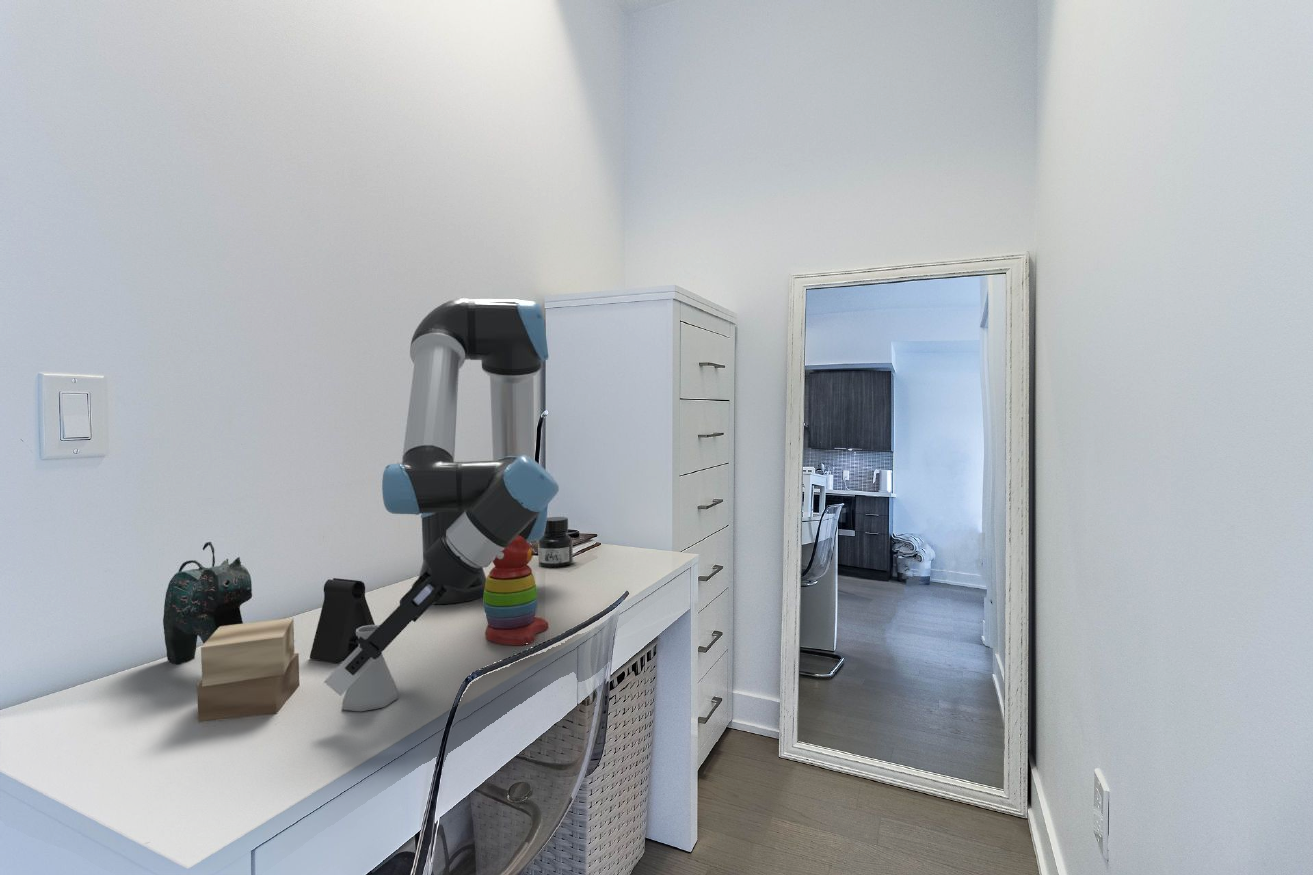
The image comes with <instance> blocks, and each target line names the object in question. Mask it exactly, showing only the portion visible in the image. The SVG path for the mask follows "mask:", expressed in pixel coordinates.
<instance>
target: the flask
mask: <svg viewBox="0 0 1313 875" xmlns="http://www.w3.org/2000/svg"><path fill="white" fill-rule="evenodd" d="M380 625H381V624H375V625H367V626H362V627H360V628H358V629H356V636H358V639H359V638H360V637H362V638H363V639H367V638H368V637H369V636H370V635H371V634H372V633H373V632H374V631H375V630H376V629H377V628H378V627H379V626H380ZM359 645H360V644H359V643H358V646H359ZM344 693H345V694H344V697H343V699H342V705H341V710H345V711H353V712H364V711H365V712H366V711H370V710H377V709H381V708H386V706H388V705H389V704H391V703H392V702H394V701H395V700H397V699H398V698H399V690H398V687H397V684H396V682H395V680H394V678H393V676H392V674H391V672H390V669H389V667H388V665H387V661H386V660H385V657H384V654H383V653H382V654H381V655H380V656H379V657H378V658H377V659H376V660H375V661H374V662H373V663H372V664H371V665H370V666H369V667H368V668H367V669H366V670H365V671H364V672H363V673H362V674H361V675H360V676H359V677H358V678H357V679H356V681H355V682H354V683H353V684H352V685H351V686H350V687H349V688H348V689H347V690H346V691H345V692H344Z"/></svg>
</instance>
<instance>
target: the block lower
mask: <svg viewBox="0 0 1313 875" xmlns="http://www.w3.org/2000/svg"><path fill="white" fill-rule="evenodd" d="M299 658H300V657H299V653H296V652H294V654H293V656H292V658H291V660H290V663H289V665H288V667H287V669H286V671H285V673H284V675H277V676H270V677H264V678H257V679H250V680H243V681H237V682H230V683H223V684H216V685H210V686H203V687H202V681H200V682H199V683H197V685H196V689H197V690H196V691H197V693H196V694H197V697H196V698H197V718H198V719H197V720H198V723H205V721H206V722H215V721H222V720H223V721H224V719H225V720H232V719H233V720H234V719H242V718H249V717H250V718H251V717H261V716H268V715H269V716H270V715H278V713H279V711H281V709H282V708H283V707H284V705H285V704H286V703H287V702H286V701H289V699H290V698H291V697H292V696H293V694H294V693H295V692H296V690H298V689H299V687H300V685H301V684H300V662H299V661H300V659H299Z"/></svg>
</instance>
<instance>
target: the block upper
mask: <svg viewBox="0 0 1313 875" xmlns="http://www.w3.org/2000/svg"><path fill="white" fill-rule="evenodd" d="M294 624H295V623H294V617H288V618H280V619H278V618H277V619H272V620H262V621H255V622H246V623H243V624H236V625H228V626H220V627H219V628H218V629H217V630H216V631H215V632H214V633H213V634H212V636H211V637H210V638H209V639H208V640H207V641H206V642H205V643H204V644H203V645H202V646H200V659H201V660H200V662H201V682H202V687H203V686H210V685H216V684H223V683H230V682H237V681H243V680H250V679H257V678H264V677H270V676H277V675H284V673H285V671H286V669H287V667H288V665H289V663H290V660H291V658H292V656H293V654H295V629H294Z"/></svg>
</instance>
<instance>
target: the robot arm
mask: <svg viewBox="0 0 1313 875" xmlns="http://www.w3.org/2000/svg"><path fill="white" fill-rule="evenodd" d="M547 341H548V340H547V335H546V326H545V320H544V314H543V309H542V306H541V305H540V304H539V303H538V302H536V301H532V300H523V299H518V298H515V299H514V298H511V299H509V298H507V299H506V298H504V299H503V298H501V299H500V298H486V299H485V298H463V297H462V298H455V299H453V300H449V301H446V302H444V303H442V304H440V305H439V306H437V307H434V309H432V310H431V311H430V312H428V314H427V315H426V316H425V317H424V318H423V319H422V320H421V321H420V323H419V324H418V326H417V327H416V328H415V331H414V332H413V335H412V337H411V341H410V347H409V348H410V349H409V356H410V359H411V362H412V363H413V371H412V380H411V388H410V395H409V403H408V410H407V411H408V412H407V418H406V427H405V432H404V433H405V434H404V443H403V448H402V449H403V451H402V460H401V461H402V462H397V463H390V464H387V465H386V467H385V468H384V470H383V473H382V479H381V480H382V484H381V488H382V489H381V490H382V491H381V492H382V500H383V505H384V507H385V510H386V511H387V512H388V513H390V514H392V515H393V514H394V515H415V516H416V515H417V516H418V515H420V519H421V532H422V533H421V535H422V539H421V540H422V564H421V568H420V571H419V573H418V577H417V579H416V580H415V581H414V582H413V584H412V585H411V588H410V589H409V590H408V591H407V592H406V593H405V594H404V595H403V596H402V597H401V599H400V600H399V605H398V606H397V607H396V608H395V609H394V610H393V611H392V612H391V613H390V615H389V616H388V617H386V619H384V621H383V622H382V623H380V624H379V625H380V626H379V627H378V628H377V629H376V630H375V631H374V632H373V633H372V634H371V635H370V636H369V637H368V638H367V639H363V638H362V637H360V638H359V639H358V640H357V641H356V642H357V643H359V644H360V645H359V646H358V647H357V648H356V649H355V650H354V651H353V652H352V653H351V654H350V655H349V656H348V657H347V658H346V659H345V660H344V661H343V662H341V663H340V664H339V665H338V666H337V667H336V669H334V671H333V672H332V673H331V674H330V675H329V676H328V677H327V678H325V680H324V681H323V682H324V683H325V685H327V686H328V687H329V688H330V689H332V691H334V692H335V693H336V694H337V695H338V696H340V697H341V696H342V695H343V694H344V693H346V690H347V689H348V688H349V687H350V686H351V685H352V684H353V683H354V682H355V681H356V679H357V678H358V677H359V676H360V675H361V674H362V673H363V672H364V671H365V670H366V669H367V668H368V667H369V666H370V665H371V664H372V663H373V662H374V661H375V660H376V659H377V658H378V657H379V656H380V655H381V654H382V655H383V652H384V651H385V649H386V648H388V646H389V645H391V643H392V642H394V640H395V639H396V638H397V637H398V636H399V635H400V634H401V632H403V630H405V628H407V627H408V625H409V624H411V622H414V623H416V622H417V621H418V619H419V618H420V617H421V616H422V615H423V614H424V613H425V612H427V610H428V609H429V608H430V607H431V606H433V605H447V604H450V605H451V604H457V603H464V602H468V601H473V600H476V599H479V598H481V597H483V595H484V589H485V583H486V578H487V575H486V572H485V570H484V568H485V569H486V568H488V567H489V566H490V564H492V563H493V560H494V559H495V556H496V557H497V558H498V559H502V558H503V556H504V554H503V553H502V552H501V551H503V550H504V549H505V548H506V547H507V546H508V545H509V544H510V543H511V542H512V541H513V540H514V539H515V538H516V537H517V536H518V535H519V536H521V537H523V538H524V539H525V541H526V542H527V543H532V542H538V541H539V540H540V539H541V538H542V537H543V535H544V532H545V528H546V522H547V518H548V508H549V505H550V504H549V503H551V501H552V500H554V498H555V497H556V496H557V495H558V493H559V489H560V488H559V484H558V482H557V481H556V480H555V479H554V476H552V475H551V473H549V472H548V471H547V469H545V468H544V467H543V466H542V465H541V464H540V463H538V462H537V461H536V460H535V422H534V421H535V408H534V407H535V404H534V402H535V401H534V399H535V398H534V396H535V395H534V394H535V393H534V391H535V389H534V388H535V387H534V384H535V382H534V380H535V379H534V377H535V376H536V375H537V374H538V373H539V372H540V371H541V369H542V362H545V361H548V360H549V349H548V342H547ZM466 360H469V361H481V369H482V371H483V372H484V373H485V374H486V375H487V376H489V381H490V384H489V386H490V411H491V412H490V415H491V438H492V460H477V461H476V460H474V461H470V460H469V461H455V451H456V450H455V447H456V434H457V433H456V430H457V429H456V428H457V414H458V412H457V411H458V394H459V393H458V391H459V374H460V369H461V368H462V367H463V366H464V364H465V361H466Z"/></svg>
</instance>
